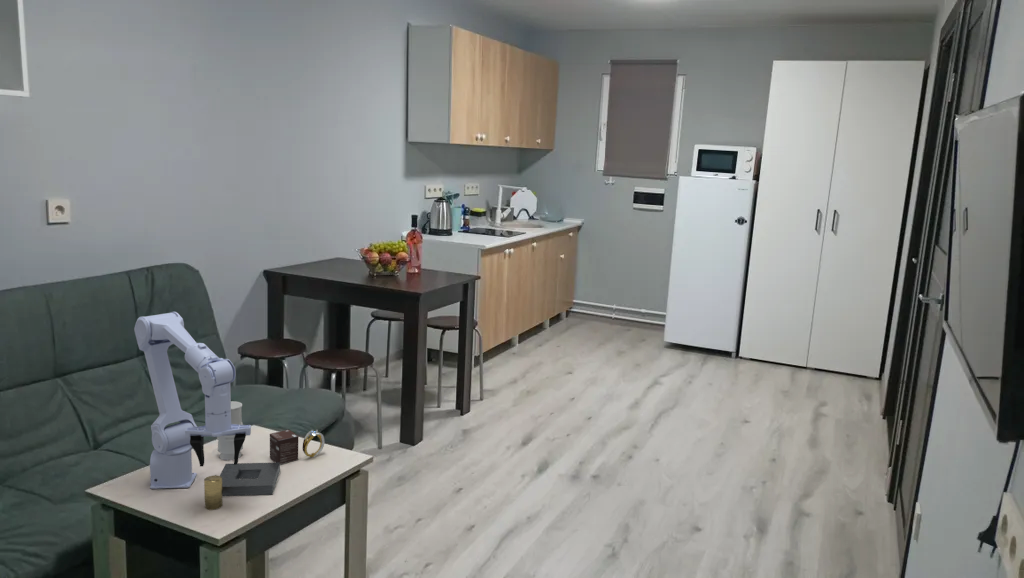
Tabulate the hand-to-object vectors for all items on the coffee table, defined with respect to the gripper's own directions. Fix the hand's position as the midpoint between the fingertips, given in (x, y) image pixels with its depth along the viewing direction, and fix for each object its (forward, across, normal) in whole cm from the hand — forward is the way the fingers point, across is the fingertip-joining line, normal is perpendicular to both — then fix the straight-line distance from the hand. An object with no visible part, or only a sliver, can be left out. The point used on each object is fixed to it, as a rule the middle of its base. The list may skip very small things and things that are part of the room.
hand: (219, 463), depth 174 cm
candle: (+11, -1, +29) cm, 31 cm away
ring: (+11, +22, +25) cm, 35 cm away
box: (+11, +14, +25) cm, 30 cm away
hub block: (+10, +6, +10) cm, 16 cm away
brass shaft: (+10, -1, -1) cm, 11 cm away
